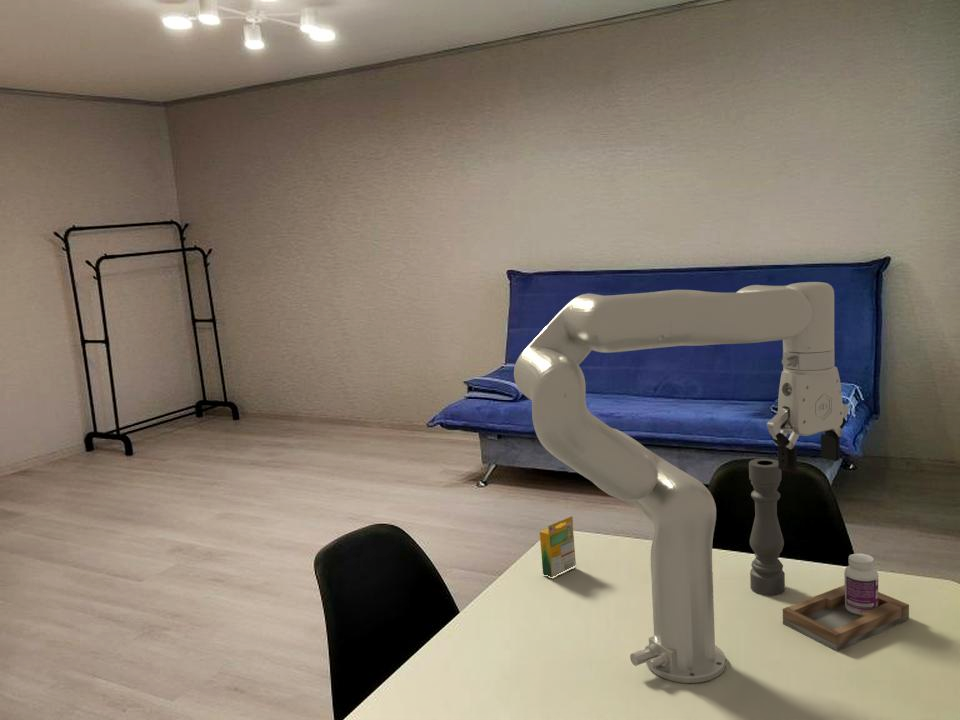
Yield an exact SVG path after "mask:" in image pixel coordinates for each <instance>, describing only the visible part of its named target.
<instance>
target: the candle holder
mask: <svg viewBox="0 0 960 720" xmlns="http://www.w3.org/2000/svg"><path fill="white" fill-rule="evenodd" d="M748 474H749V475H748V477H749V480H750V484H751V485H752V487H753V490H752V491H751V494H750V496H751V498H752V499H753V501H754V512H755V513H754V514H755V516H754V520H753V524H752V528H751V533H750V536H749V547H750V548H751V549H752V551H753V553H754V556H755V558H754V559H753V560H752V562H751V569H750V572H749V575H750V576H749V577H750V579H749V580H750V581H749V582H750V589H751V591H752V592H753V593H754V594H755V593H756V594H757V595H761V596H767V597H775V596H781V595H782V594H784V593H785V590H786V585H785V584H786V577H785V576H786V575H785V572H784V570H783V568H784V564H783V563H782V561H780V559H779V558H780V554H781V553H782V552H783V550H784V549H783V548H784V546H785V539H784V536H783V533H782V531H781V526H780V522H779V517H778V514H777V513H778V508H777V507H778V506H777V505H778V500H780V499H781V493H780V492H779V491H778V488H779V486H780V485H781V484H780V483H781V481H782V470H781V469H779V467H778V459H774V458H765V457H764V458H762V457H761V458H755V459H751V460H750V461H749V462H748Z"/></svg>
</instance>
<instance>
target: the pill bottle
mask: <svg viewBox="0 0 960 720" xmlns="http://www.w3.org/2000/svg"><path fill="white" fill-rule="evenodd" d="M874 567H875V559H874V557H873V556H871V555H869V554H865V553H853V554H849V556H848V565H847V567H845V569H844V585H845V608H846V609H847V610H848V611H849V612H851V613H853V614H856V615H861V613H863V612H866V611H868V610H870V609H873V608H875V607H878V592H879V572H878V571H877V569H875V568H874Z"/></svg>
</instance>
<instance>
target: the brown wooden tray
mask: <svg viewBox="0 0 960 720" xmlns="http://www.w3.org/2000/svg"><path fill="white" fill-rule="evenodd" d="M909 620H910V604H909V603H907V602H903V601H902V600H899V599H896V598H894V597H891V596H889V595H887V594H884V593H881V592H880V591H878V607H875V608H873V609H870V610H868V611H866V612H863V613H861V615H856V614H853V613H851V612H849V611H848V610H847V609H846V608H845V584H844V585H842V586H838V587H836V588H833V589H831V590H828V591H826V592H822V593H820V594H818V595H814V596H812V597H810V598H807V599H804V600H801V601H800V602H797V603H795V604H791V605H789V606H786V607H783V608H782V625H784V626H787V627H788V628H791V629H792V630H794V631H796V632H799V634H802V635H804V636H806V637H808V638H810V639H812V640H813V641H816V642H818V643H820V644H822V645H824V646H825V647H827V648H829V649H831V650H833V651H836V652H837V651H841V650H842V649H845V648H847V647H849V646H852V645H854V644H857V643H858V642H861V641H863V640H865V639H867V638H870V637H873V636H874V635H877V634H879V633H881V632H884V631H886V630H889V629H891V628H893V627H896V626H897V625H899V624H902V623H905V622H907V621H909Z"/></svg>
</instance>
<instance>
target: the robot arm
mask: <svg viewBox="0 0 960 720" xmlns="http://www.w3.org/2000/svg"><path fill="white" fill-rule="evenodd" d="M774 341H782V359H781V365H782V366H783V367H782V368H783V369H782V371H781V375H780V381H779V388H778V396H777V397H778V400H777V413H776V414H775V415H774V416H773V417H772V418H771V419H770V420H768V422H767V423H766V427H767V430H768V432H769V436H770V439H771V440H772V441H773V442H774V445H775V446H777V450H778V451H777V452H778V453H777V454H778V455H777V457H778V459H777V460H778V467H779V469H781V471H783V472H788V473H791V474H794V473H795V474H796V473H797V472H798V471H797V470H798V449H797V448H796V447H795V444H796V443H797V440H798V439H799V437H800V436H803V437H809V436H812V435H817V434H820V433H821V434H820V456H821V458H823V459H827V460H829V461H830V460H831V461H835V462H839V461H840V459H841V458H840V457H841V454H840V453H841V452H840V449H841V448H840V445H841V443H840V441H841V438H840V437H842V436H843V433H844V432H843V428H844V427H845V426H846V423H847V416H848V413H849V410H850V407H849V406H848V405H847V404H845V403H843V394H842V384H841V378H840V374H839V371H838V370H839V369H838V367H837V366H835V290H834V288H833V286H832V285H831V284H829V283H828V282H822V281H806V282H804V281H803V282H796V283H790V284H788V285H764V284H763V285H762V284H761V285H760V284H752V285H747V286H744V287H742V288H740V289H739V290H738V291H736V292H717V291H716V292H715V291H704V290H695V289H670V290H661V291H649V292H641V293H639V292H638V293H626V294H625V293H624V294H614V295H612V294H611V295H601V294H595V293H585V294H584V293H583V294H580V295H578V296H576V297H574V298H573V299H571V300H570V301H569V302H568V303H567V304H566V305H565V306H564V307H563V308H562V309H561V310H559V312H558V313H557V314H556V315H555V316H554V317H553V318H552V319H551V320H550V321H549V323H548V324H547V325H546V326H545V327H544V328H543V329H542V330H541V331H540V332H539V334H538V335H537V336H536V337H535V338H533V340H532V341H531V342H530V343H529V344H528V345H527V346H526V348H524V349H523V351H522V352H521V353H520V354H519V356H518V357H517V360H516V361H515V365H514V369H513V378H514V379H513V380H514V383H515V385H516V387H517V388H518V390H519V392H520V393H521V394H522V395H524V396H525V397H526V398H527V399H529V400H530V401H531V410H532V411H531V416H532V418H531V419H532V424H533V428H534V431H535V434H536V437H537V439H538V440H539V443H540V444H541V445H542V447H543V448H544V449H545V450H546V451H547V452H548V453H549V454H551V455H552V456H553V457H555V458H556V459H558V460H559V461H560V462H561V463H563V464H565V465H566V466H567V467H569V468H570V469H572V470H574V471H575V472H576V473H578V474H579V475H581V477H582V476H583V478H585V479H587V480H589V481H590V482H591V483H592V484H594V485H595V486H596V487H597V488H599V490H601V491H603V492H604V493H606V494H607V495H608V496H611V497H613V498H615V499H618V500H622V501H624V502H625V503H626V504H628V505H630V506H632V507H633V508H635V509H636V510H637V511H638V512H640V513H641V514H643V515H644V516H645V517H646V518H647V519H648V520H649V521H650V522H651V523H653V526H654V528H653V529H654V533H653V539H652V542H651V543H652V544H651V546H650V547H651V548H650V575H651V578H650V579H651V596H652V599H651V600H652V617H653V618H652V619H653V622H652V623H653V636H651V637H648V645H646V646H645V648H644V649H641V650H638V651H635V652H633V653H630V654H629V655H630V656H629V657H630V658H629V659H630V662H631V664H632V665H633V666H635V667H638V666H640V665H642V664H645V663H646V665H647V667H648V669H650V671H651V672H653V673H654V674H655V675H657V676H658V677H661V678H664V679H666V680H669V681H673V682H676V683H683V684H684V683H685V684H694V683H704V682H708V681H710V680H713V679H716V678H717V677H718V676H720V675H721V674H722V673H723V672H724V670H725V669H726V665H727V664H726V663H727V661H726V656H725V653H724V652H723V650H722V649H721V648H720V647H718V646H717V645H716V642H715V641H716V639H715V638H716V637H715V610H714V609H715V608H714V607H715V604H714V602H715V601H714V576H713V575H714V573H713V539H714V533H715V529H716V528H715V527H716V521H717V507H716V506H717V505H716V502H715V499H714V497H713V494H712V493H711V491H710V490H709V489H708V487H706V486H705V485H704V483H702V482H701V481H700V480H698V479H697V478H695V477H694V476H692V475H690V474H689V473H687V472H685V471H684V470H682V469H680V468H678V467H677V466H676V465H673V464H672V463H671V462H669V461H667V460H665V459H664V458H662V457H661V456H659V455H657V454H656V453H655V452H653V451H651V450H650V449H648V448H647V447H645V446H644V445H643V444H642V443H640V442H639V441H638V440H636V439H634V438H633V437H631V436H630V435H628V434H627V433H625V432H623V431H622V430H619V429H617V428H613V427H610V426H609V425H608V424H606V423H605V422H604V421H602V420H601V419H599V418H598V417H597V416H596V415H594V414H593V413H591V412H590V410H589V409H588V407H587V402H586V393H587V392H586V380H585V375H584V372H583V370H582V368H581V366H580V364H582V362H584V360H585V359H586V358H587V357H588V355H590V353H591V352H592V351H593V352H597V353H622V352H631V351H639V350H648V349H649V350H650V349H660V348H669V347H683V346H690V347H691V346H696V347H697V346H709V345H711V346H712V345H734V344H736V345H738V344H754V343H755V344H756V343H763V342H774ZM788 434H789V437H787V436H788Z"/></svg>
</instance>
